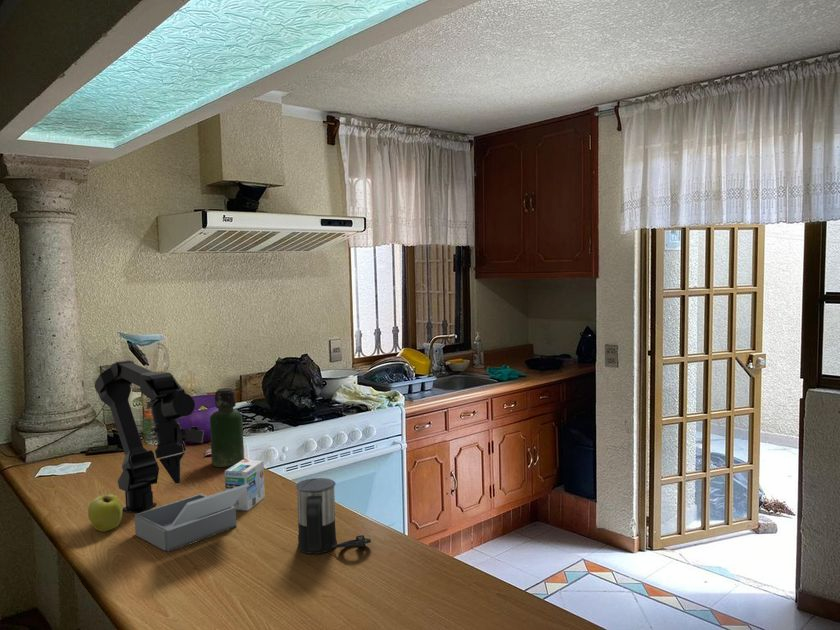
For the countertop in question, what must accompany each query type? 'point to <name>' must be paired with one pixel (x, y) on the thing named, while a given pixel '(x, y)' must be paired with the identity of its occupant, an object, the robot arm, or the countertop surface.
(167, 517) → the grey shallow open box
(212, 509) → the grey box lid
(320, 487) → the milk frother
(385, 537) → the countertop surface
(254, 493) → the light bulb box
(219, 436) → the green bottle
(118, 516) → the apple
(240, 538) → the countertop surface
